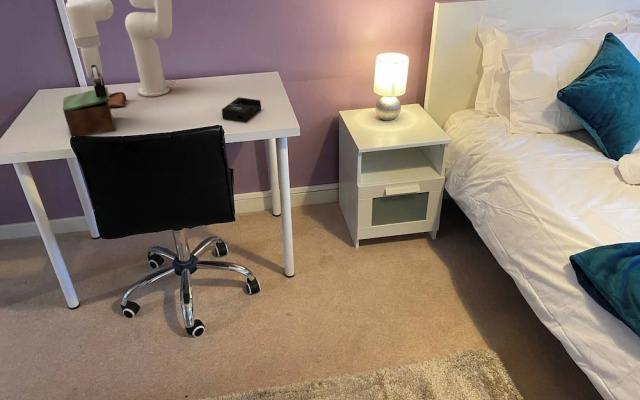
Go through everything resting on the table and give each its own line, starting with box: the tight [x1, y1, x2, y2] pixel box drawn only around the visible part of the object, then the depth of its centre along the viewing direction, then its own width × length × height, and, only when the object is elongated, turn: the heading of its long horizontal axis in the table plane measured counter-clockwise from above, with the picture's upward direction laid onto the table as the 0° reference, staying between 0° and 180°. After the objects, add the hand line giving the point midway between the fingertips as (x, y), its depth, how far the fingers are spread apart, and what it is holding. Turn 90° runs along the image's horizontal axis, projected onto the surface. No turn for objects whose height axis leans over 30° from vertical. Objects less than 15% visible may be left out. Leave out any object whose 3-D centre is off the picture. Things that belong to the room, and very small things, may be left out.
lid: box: [62, 86, 110, 113], centre depth 166 cm, size 15×13×6 cm
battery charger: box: [221, 96, 262, 124], centre depth 180 cm, size 13×10×4 cm
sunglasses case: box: [108, 91, 127, 109], centre depth 189 cm, size 18×7×7 cm, turn 105°
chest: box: [63, 101, 116, 138], centre depth 170 cm, size 14×13×9 cm
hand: (101, 93), depth 168 cm, fingers closed on lid, 6 cm apart
